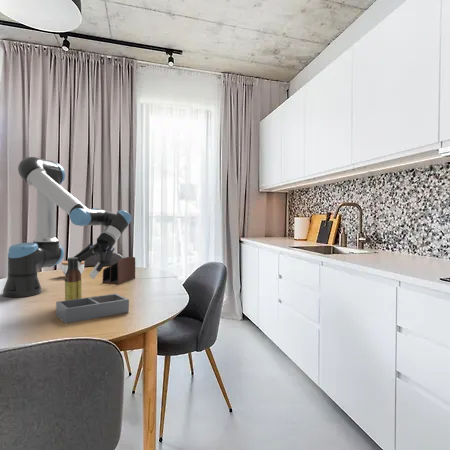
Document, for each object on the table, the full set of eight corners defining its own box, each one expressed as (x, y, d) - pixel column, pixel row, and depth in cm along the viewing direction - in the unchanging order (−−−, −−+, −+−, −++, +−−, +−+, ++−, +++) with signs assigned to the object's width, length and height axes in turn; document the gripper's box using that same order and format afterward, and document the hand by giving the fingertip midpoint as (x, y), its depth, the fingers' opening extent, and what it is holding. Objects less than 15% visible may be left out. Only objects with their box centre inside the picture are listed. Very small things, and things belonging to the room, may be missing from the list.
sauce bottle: (77, 302, 137) (78, 256, 136) (84, 305, 133) (85, 257, 132) (61, 305, 132) (62, 257, 131) (68, 308, 128) (69, 259, 127)
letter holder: (135, 278, 196) (136, 255, 195) (118, 284, 176) (118, 259, 176) (120, 277, 198) (121, 254, 197) (102, 283, 178) (102, 258, 178)
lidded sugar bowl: (63, 275, 199) (63, 257, 198) (85, 274, 202) (85, 257, 202) (59, 278, 187) (59, 260, 186) (82, 278, 190) (83, 259, 190)
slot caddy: (55, 315, 119) (56, 301, 119) (115, 305, 134) (116, 293, 134) (65, 323, 110) (66, 309, 110) (128, 312, 125) (128, 299, 125)
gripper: (133, 244, 143) (106, 284, 130) (94, 241, 154) (65, 277, 141) (124, 233, 138) (96, 272, 125) (84, 231, 150) (54, 267, 137)
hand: (79, 275), depth 133 cm, fingers open, 13 cm apart
